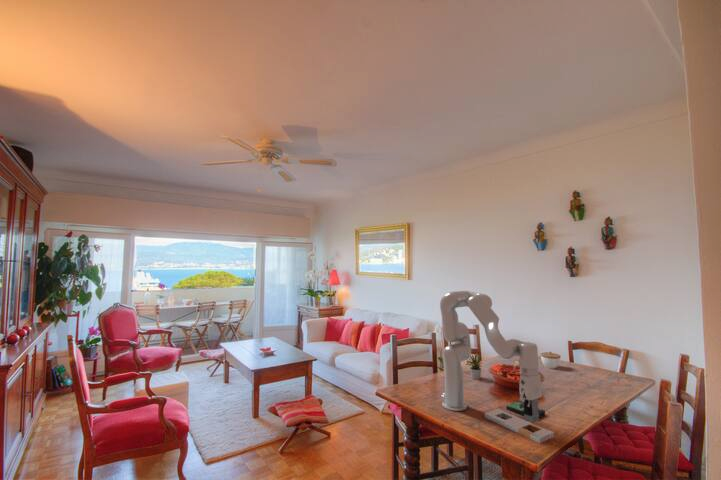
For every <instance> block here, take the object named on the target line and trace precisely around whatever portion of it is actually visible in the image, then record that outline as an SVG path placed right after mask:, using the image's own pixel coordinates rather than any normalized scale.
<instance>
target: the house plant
mask: <svg viewBox="0 0 721 480" xmlns="http://www.w3.org/2000/svg"><path fill="white" fill-rule="evenodd" d="M483 359H484V357H482V358H481V356H480V354H478V353H477V352H476V353H475V354H474V355H473V354H471V355H470V357H469V360H466V361H465V362H466V363H467V366H468V367H469V370H470V376H471V379H472V380H480V379H481V374H482V373H481V372H482V368H481V367H482V365H481V361H482V360H483ZM470 366H471V367H470Z"/></svg>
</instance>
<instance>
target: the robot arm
mask: <svg viewBox="0 0 721 480" xmlns="http://www.w3.org/2000/svg"><path fill="white" fill-rule="evenodd" d="M439 306H440V307H439V308H440V313H441V322H442V323H441V325H442V335H443V338H444V340H445V341H446V342H448V343H451V344H449V345H447V346H445V347H444V349H443V350H442V361H443V368H444V370H443V371H444V392H442V393H441V395H440V397H441V398H443V401H442V402H441V404H442V407H443V408H444V409H446V410H448V411H455V412H462V411H464V410H467V408H468V404H467V403H466V402H465V397H464V395H465V394H464V390H465V389H464V370H463V366H462V364H461V363H462V362H465V361H468V360H469V359H470V356H472V346H471V345H472V344H471V335H470V330H469V328H468V326H467V325H466V324H465V323H464V322H460V321H459V316H458V313H457V310H456V309H457V308H464V307H466V308H469V309H470V311H471V312H472V313H473V315H474V316H475V317H476V318H477V320H478V322H479V323H480V324H481V325H482V326H483V329H484V333H485V336H486V339H487V341H488V344H489V345H490V346H491V347H492V349H493V350H494V351H495V353H496V354H497V355H498V356H499V357H500V358H502V359H505V360H508V359H509V360H510V359H512V358H515V357H519V374H520V375H519V384H518V385H519V402H521V403H523V405H524V414H526V415H528V416H532V413H531V406H530V401H531V400H534V399H537V398H538V404H539V400H540V398H542V396H543V388H542V379H541V375H540V374H539V372H540V369H539V352H538V351H539V350H538V346H537V344H536V343H534V342H530V341H521V340H519V339H516V338H515V339H514V338H512V339H507V340H506V339H505V338H504V337H503V334H501V332H500V329H499V321H500V317H499V316H498V314H497V313H496V312H495V311H494V310H493V309H492V306H493V300H492V298H491V297H490V296H489V295H487V294H485V293H481V292H480V293H479V292H474V291H469V290H456V291H451V292H447V293H445V294H444V295H443V296H442V297H441V300H440V302H439ZM526 400H528V402H527V401H526Z"/></svg>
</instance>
